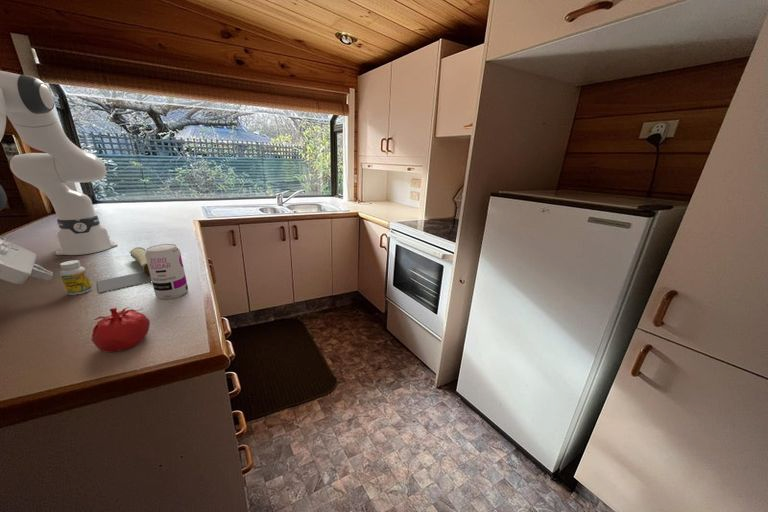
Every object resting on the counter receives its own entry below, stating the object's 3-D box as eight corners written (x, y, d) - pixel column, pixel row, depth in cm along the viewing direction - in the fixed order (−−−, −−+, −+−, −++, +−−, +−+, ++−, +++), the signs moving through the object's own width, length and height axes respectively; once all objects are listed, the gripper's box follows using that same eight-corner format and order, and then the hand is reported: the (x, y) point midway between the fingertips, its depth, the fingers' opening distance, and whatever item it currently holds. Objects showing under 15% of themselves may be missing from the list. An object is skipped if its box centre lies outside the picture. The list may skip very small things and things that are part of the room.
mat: (97, 282, 96) (96, 281, 96) (163, 268, 108) (163, 267, 108) (99, 293, 89) (98, 292, 89) (170, 277, 101) (170, 276, 101)
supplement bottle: (94, 286, 93) (84, 258, 90) (90, 293, 89) (80, 263, 86) (70, 290, 90) (59, 261, 87) (65, 297, 86) (53, 267, 83)
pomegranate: (162, 331, 72) (154, 297, 69) (130, 357, 63) (119, 319, 60) (120, 330, 72) (111, 296, 69) (82, 356, 62) (68, 318, 59)
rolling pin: (166, 276, 100) (162, 263, 98) (145, 281, 96) (141, 267, 94) (147, 255, 121) (144, 244, 119) (129, 258, 117) (126, 246, 115)
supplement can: (184, 285, 95) (175, 241, 90) (191, 294, 90) (181, 248, 85) (154, 293, 90) (141, 246, 85) (159, 303, 84) (146, 254, 79)
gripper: (-17, 251, 69) (58, 278, 78) (-2, 233, 82) (61, 258, 92) (-40, 274, 67) (39, 298, 77) (-21, 252, 81) (45, 275, 91)
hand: (51, 276), depth 85 cm, fingers closed
